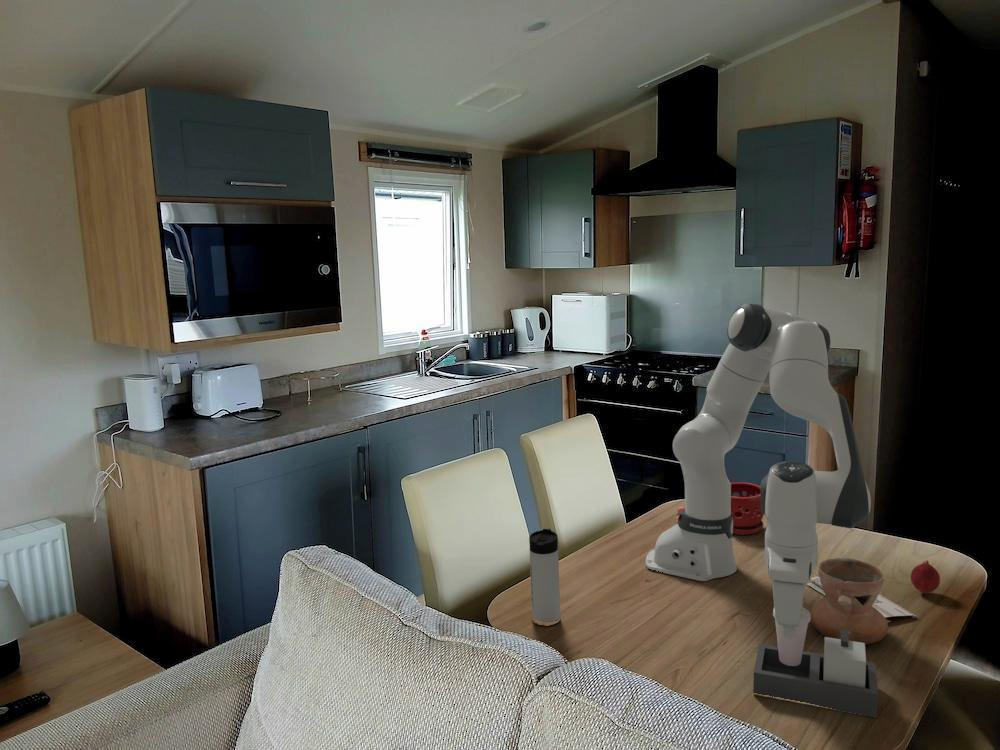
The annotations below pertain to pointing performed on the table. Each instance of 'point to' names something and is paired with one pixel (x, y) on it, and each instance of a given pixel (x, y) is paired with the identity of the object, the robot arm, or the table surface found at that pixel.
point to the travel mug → (544, 575)
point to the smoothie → (792, 640)
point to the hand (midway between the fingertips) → (789, 625)
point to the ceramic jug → (850, 601)
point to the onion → (925, 577)
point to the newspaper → (880, 604)
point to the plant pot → (746, 508)
